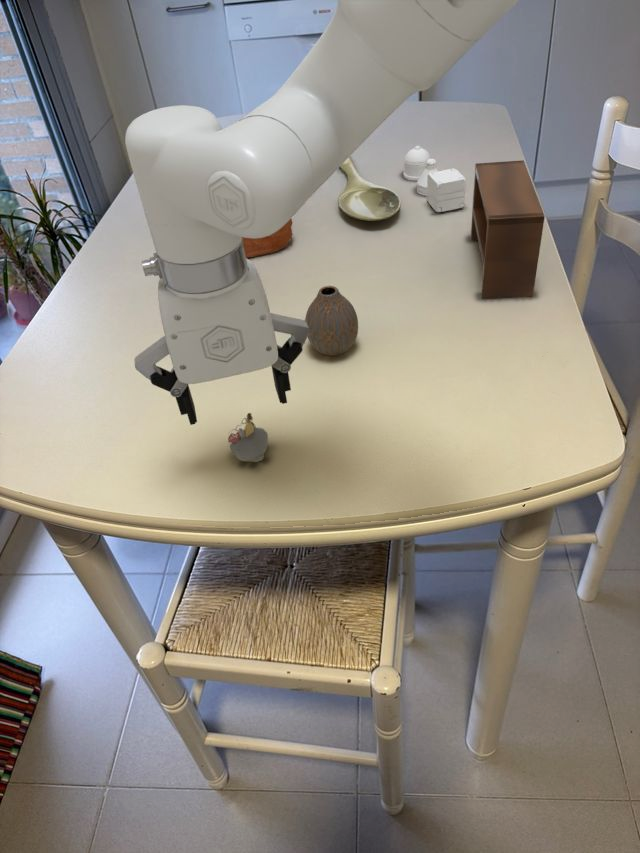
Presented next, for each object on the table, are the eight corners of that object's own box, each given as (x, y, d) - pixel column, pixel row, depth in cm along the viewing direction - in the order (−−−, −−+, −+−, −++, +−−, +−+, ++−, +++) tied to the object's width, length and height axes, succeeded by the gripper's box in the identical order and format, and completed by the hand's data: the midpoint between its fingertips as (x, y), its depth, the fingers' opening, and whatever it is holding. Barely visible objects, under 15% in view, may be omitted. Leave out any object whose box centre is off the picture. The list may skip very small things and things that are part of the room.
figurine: (268, 469, 72) (260, 430, 68) (229, 471, 72) (218, 432, 68) (272, 435, 75) (264, 397, 71) (235, 438, 76) (224, 399, 72)
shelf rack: (515, 235, 104) (523, 160, 95) (532, 296, 91) (544, 215, 83) (470, 237, 105) (475, 163, 96) (481, 298, 92) (488, 219, 83)
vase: (298, 353, 86) (289, 297, 80) (327, 327, 90) (321, 271, 84) (341, 368, 83) (335, 311, 77) (369, 340, 87) (366, 283, 81)
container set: (464, 209, 112) (466, 178, 108) (436, 215, 111) (437, 183, 108) (425, 167, 126) (425, 138, 123) (399, 172, 126) (399, 143, 122)
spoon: (316, 168, 135) (315, 158, 134) (365, 160, 136) (365, 149, 134) (349, 233, 108) (348, 221, 107) (411, 222, 109) (411, 210, 108)
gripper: (105, 304, 53) (158, 448, 65) (308, 262, 55) (324, 409, 67) (105, 261, 59) (154, 401, 71) (289, 224, 61) (307, 367, 73)
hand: (237, 405), depth 69 cm, fingers open, 9 cm apart
